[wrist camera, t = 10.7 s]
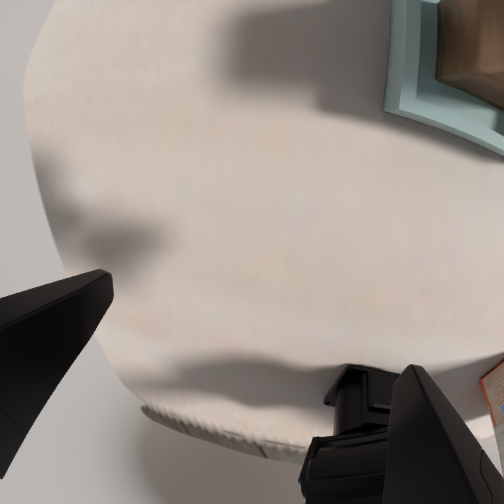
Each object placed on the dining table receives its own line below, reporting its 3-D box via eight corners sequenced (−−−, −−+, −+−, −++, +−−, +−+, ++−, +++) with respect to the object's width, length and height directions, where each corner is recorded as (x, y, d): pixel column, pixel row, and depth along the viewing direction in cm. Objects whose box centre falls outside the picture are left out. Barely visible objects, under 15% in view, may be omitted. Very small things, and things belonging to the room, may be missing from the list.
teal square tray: (520, 165, 13) (551, 178, 10) (382, 110, 15) (398, 108, 11) (526, 29, 8) (553, 22, 4) (390, -37, 9) (402, -63, 6)
